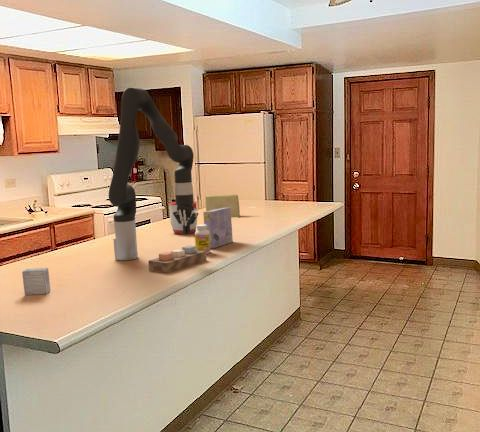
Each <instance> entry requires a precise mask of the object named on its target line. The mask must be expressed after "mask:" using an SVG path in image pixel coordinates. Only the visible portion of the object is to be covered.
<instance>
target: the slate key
mask: <svg viewBox="0 0 480 432" xmlns="http://www.w3.org/2000/svg"><path fill="white" fill-rule="evenodd" d="M181 250H184V251H185V254H192V253H195V252H196V246H195V245H185V246H182V248H181Z"/></svg>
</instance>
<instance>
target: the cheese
mask: <svg viewBox="0 0 480 432" xmlns="http://www.w3.org/2000/svg"><path fill="white" fill-rule="evenodd" d="M204 200H205V201H204V202H205V212H206V211H211V210H216V209H221V208H229V207H230V208H231V217H238V218H240V216H241V214H240V201H239V195H238V194H235V193H233V194H213V193H211V194H207V195H205V199H204Z"/></svg>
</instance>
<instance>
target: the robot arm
mask: <svg viewBox="0 0 480 432" xmlns="http://www.w3.org/2000/svg"><path fill="white" fill-rule="evenodd" d="M120 107H121V109H120V122H119V123H120V124H119V133H118V140H117V144H116V146H117V147H116V153H115V159H114V160H115V161H114V167H113V171H112V177H111V181H110V184H109V190H108V200H109V202H110V204H111V206H114V207H117V210H116V212H115V213H114V215H113V227H114V236H115V237H114V238H113V250H114V260H118V261H130V260H135V259H137V258H138V257H139V253H138V244H137V243H138V241H137V240H138V239H137V227H136V226H137V225H136V217H135V216H136V213H137V195H136V192H135V189H134V187H133V186H132V185H131V184H129V183H128V182H129V181H128V180H129V176H130V174H131V172H132V169H134V168H133V167H134V166H135V164H136V162H137V159H138V156H139V151H140V145H141V144H140V137H139V136H140V135H139V132H138V130H137V122H136V121H137V115H138V114H137V113H138V111H140V112H141V113H142V114H143V115H144V116H145V117H146V118H147V120H148V121H149V123H150V126H151V129H152V132H153V133H154V135H155V136H156V138H157V139H158V140H159V141H160V142H161V144H162V145H163V146H164V149H165V151H166V153H167V155H168V157H169V158H170V160H172V161H173V162H175V163H178V167H177V168H176V169H175V170H174V195H175V202H176V205H177V210H176V211H175V212H173V215H174V216H175V218H176V220H177V221H178V223H179V224H182V226H183V233H184V234H183V235H187V236H188V235H190V234H191V233H190V225H191V224H193V223H194V222H195V220H196V218H197V219H198V215H199V212H197V213H196V212H195V211H194V208H193V204H194V201H195V200H194V187H193V180H192V179H193V178H192V177H193V176H192V170H193V164H194V151H193V149H192V147H191V146H190V145H188V144H179V142H178V140H179V137H178V134H177V132H175V131H174V129H173V128H172V127H171V125H170V124H169V123H168V122H167V120H166V119H165V118H164V117H163V115H162V114H161V112H160V110H159V108H158V107H157V106H156V104H155V102H154V100H153V99H152V97H151V95H150V94H149V92H148V91H147V90H145V88H144V89H143V88H139V87H133V86H129V87H126V88H125V89H124V91H123V93H122V96H121V106H120ZM183 217H184V218H183ZM180 220H181V221H180ZM187 221H188V222H187Z"/></svg>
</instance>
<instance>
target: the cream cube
mask: <svg viewBox="0 0 480 432" xmlns="http://www.w3.org/2000/svg"><path fill="white" fill-rule="evenodd" d="M170 253H173V257H177V258H179V257H182V256H185V251H184V250H182V249H173V250H171V251H170Z"/></svg>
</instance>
